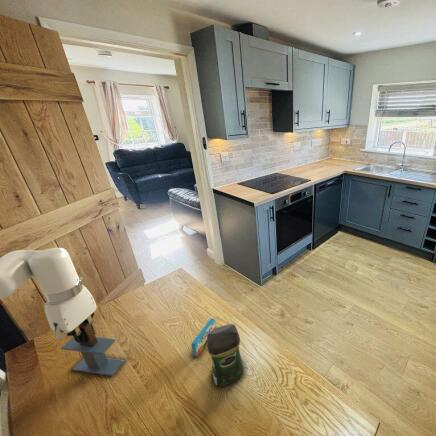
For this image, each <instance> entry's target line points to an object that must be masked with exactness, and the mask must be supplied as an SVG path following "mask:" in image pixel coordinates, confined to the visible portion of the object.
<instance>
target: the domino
mask: <svg viewBox="0 0 436 436" xmlns="http://www.w3.org/2000/svg"><path fill="white" fill-rule="evenodd" d="M78 326H79V328H80V330H81V332H84V334H85V336H86V338H87V340H88V341H87V342H86V343H82V342H80V343H79V344H80V345H84V346H91V347H93V346H94V345H95V344H96V343H97V342H98V341H97V339H96V337H97V336H96V333H95V334H94V332H93V330H92V327H91V325H90V323H83V322H82V323H81V324H80V325H78Z"/></svg>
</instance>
